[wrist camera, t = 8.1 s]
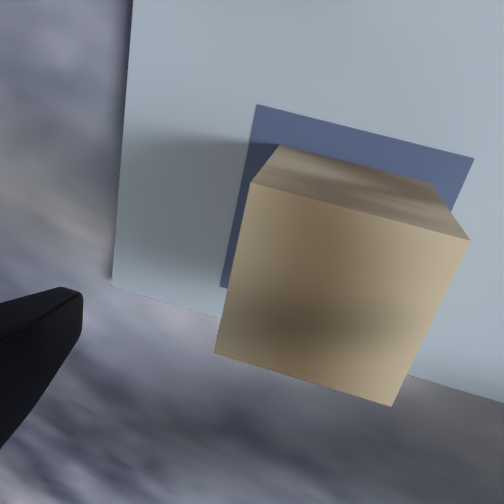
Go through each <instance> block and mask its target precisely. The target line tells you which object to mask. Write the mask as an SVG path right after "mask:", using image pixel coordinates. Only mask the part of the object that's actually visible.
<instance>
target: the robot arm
mask: <svg viewBox="0 0 504 504" xmlns="http://www.w3.org/2000/svg"><path fill="white" fill-rule="evenodd" d="M82 320H83V296H82V294H81V293H80V292H78V291H75V290H72V289H68V288H65V287H57V288H54V289H50V290H46V291H43V292H39V293H35V294H31V295H28V296H24V297H20V298H17V299H13V300H9V301H6V302H2V303H0V449H1V448H2V446H3V445H4V444H5V443H6V441H7V440H8V439H9V438H10V436H11V435H12V434H13V433H14V432H15V430H16V429H17V428H18V427H19V425H20V424H21V423H22V422H23V420H24V419H25V418H26V417H27V415H28V414H29V413H30V411H31V410H32V409H33V408H34V406H35V405H36V403H37V402H38V400H39V399H40V398H41V396H42V395H43V393H44V391H45V390H46V388H47V387H48V385H49V384H50V382H51V381H52V379H53V378H54V376H55V375H56V373H57V371H58V370H59V368H60V367H61V365H62V364H63V362H64V361H65V359H66V358H67V356H68V355H69V353H70V351H71V350H72V348H73V347H74V345H75V344H76V342H77V341H78V339H79V337H80V334H81V331H82Z"/></svg>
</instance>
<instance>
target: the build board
mask: <svg viewBox="0 0 504 504" xmlns="http://www.w3.org/2000/svg"><path fill="white" fill-rule="evenodd" d="M279 145H284V146H288V147H292V148H296V149H300V150H304V151H308V152H312V153H316V154H320V155H323V156H327V157H331V158H335V159H339V160H343V161H347V162H351V163H355V164H359V165H363V166H367V167H370V168H374V169H378V170H382V171H386V172H390V173H394V174H398V175H402V176H406V177H410V178H414V179H417V180H421V181H425V182H429V183H431V185H432V186H433V188H434V189H435V190H436V192H437V193H438V195H439V196H440V198H441V199H442V200H443V202H444V203H445V205H446V206H447V207H448V209H449V210H450V212H451V213H452V215H453V216H454V217H455V219H456V220H457V222H458V223H459V224H460V226H461V227H462V229H463V230H464V232H465V233H466V234H467V236H468V237H469V239H470V240H471V242H470V244H469V246H468V248H467V251H466V253H465V255H464V257H463V259H462V261H461V263H460V265H459V267H458V269H457V271H456V273H455V276H454V278H453V280H452V282H451V284H450V286H449V288H448V290H447V292H446V294H445V296H444V298H443V301H442V303H441V305H440V307H439V309H438V311H437V313H436V315H435V317H434V319H433V321H432V323H431V326H430V328H429V330H428V332H427V334H426V336H425V338H424V340H423V342H422V344H421V346H420V348H419V351H418V353H417V355H416V357H415V359H414V361H413V363H412V365H411V367H410V369H409V371H408V373H407V375H410V376H414V377H417V378H420V379H424V380H427V381H430V382H434V383H437V384H441V385H444V386H447V387H451V388H454V389H457V390H461V391H464V392H467V393H471V394H474V395H477V396H481V397H484V398H488V399H491V400H494V401H498V402H501V403H504V0H133V12H132V25H131V38H130V51H129V63H128V76H127V89H126V102H125V115H124V128H123V141H122V154H121V167H120V179H119V192H118V205H117V218H116V231H115V244H114V257H113V270H112V283H111V287H114V288H118V289H121V290H125V291H128V292H131V293H135V294H138V295H141V296H145V297H148V298H151V299H155V300H158V301H162V302H165V303H168V304H172V305H175V306H178V307H182V308H185V309H188V310H192V311H195V312H198V313H202V314H205V315H209V316H212V317H215V318H219V319H221V317H222V312H223V308H224V303H225V298H226V294H227V289H228V284H229V280H230V275H231V270H232V266H233V261H234V256H235V252H236V247H237V243H238V238H239V233H240V229H241V224H242V219H243V215H244V210H245V205H246V201H247V196H248V192H249V187H250V182H251V181H252V180H253V179H254V177H255V176H256V175H257V173H258V172H259V171H260V170H261V168H262V167H263V166H264V164H265V163H266V162H267V161H268V159H269V158H270V157H271V155H272V154H273V153H274V152H275V150H276V149H277V148H278V146H279Z"/></svg>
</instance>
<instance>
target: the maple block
mask: <svg viewBox="0 0 504 504" xmlns="http://www.w3.org/2000/svg"><path fill="white" fill-rule="evenodd" d="M470 242H471V240H470V239H469V237H468V236H467V234H466V233H465V232H464V230H463V229H462V227H461V226H460V224H459V223H458V222H457V220H456V219H455V217H454V216H453V215H452V213H451V212H450V210H449V209H448V207H447V206H446V205H445V203H444V202H443V200H442V199H441V198H440V196H439V195H438V193H437V192H436V190H435V189H434V188H433V186H432V185H431V183H429V182H425V181H421V180H417V179H414V178H410V177H406V176H402V175H398V174H394V173H390V172H386V171H382V170H378V169H374V168H370V167H367V166H363V165H359V164H355V163H351V162H347V161H343V160H339V159H335V158H331V157H327V156H323V155H320V154H316V153H312V152H308V151H304V150H300V149H296V148H292V147H288V146H284V145H279V146H278V148H277V149H276V150H275V152H274V153H273V154H272V155H271V157H270V158H269V159H268V161H267V162H266V163H265V164H264V166H263V167H262V168H261V170H260V171H259V172H258V173H257V175H256V176H255V177H254V179H253V180H252V181H251V182H250V187H249V192H248V196H247V201H246V205H245V210H244V215H243V219H242V224H241V229H240V233H239V238H238V243H237V247H236V252H235V256H234V261H233V266H232V270H231V275H230V280H229V284H228V289H227V294H226V298H225V303H224V308H223V312H222V317H221V321H220V326H219V331H218V335H217V340H216V345H215V349H214V353H216V354H219V355H222V356H225V357H229V358H232V359H235V360H239V361H242V362H245V363H248V364H252V365H255V366H258V367H262V368H265V369H268V370H272V371H275V372H278V373H281V374H285V375H288V376H291V377H295V378H298V379H301V380H304V381H308V382H311V383H314V384H318V385H321V386H324V387H328V388H331V389H334V390H337V391H341V392H344V393H347V394H351V395H354V396H357V397H360V398H364V399H367V400H370V401H374V402H377V403H380V404H383V405H387V406H390V407H392V405H393V403H394V400H395V398H396V396H397V394H398V392H399V390H400V388H401V386H402V384H403V382H404V380H405V378H406V375H407V373H408V371H409V369H410V367H411V365H412V363H413V361H414V359H415V357H416V355H417V353H418V351H419V348H420V346H421V344H422V342H423V340H424V338H425V336H426V334H427V332H428V330H429V328H430V326H431V323H432V321H433V319H434V317H435V315H436V313H437V311H438V309H439V307H440V305H441V303H442V301H443V298H444V296H445V294H446V292H447V290H448V288H449V286H450V284H451V282H452V280H453V278H454V276H455V273H456V271H457V269H458V267H459V265H460V263H461V261H462V259H463V257H464V255H465V253H466V251H467V248H468V246H469V244H470Z"/></svg>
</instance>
